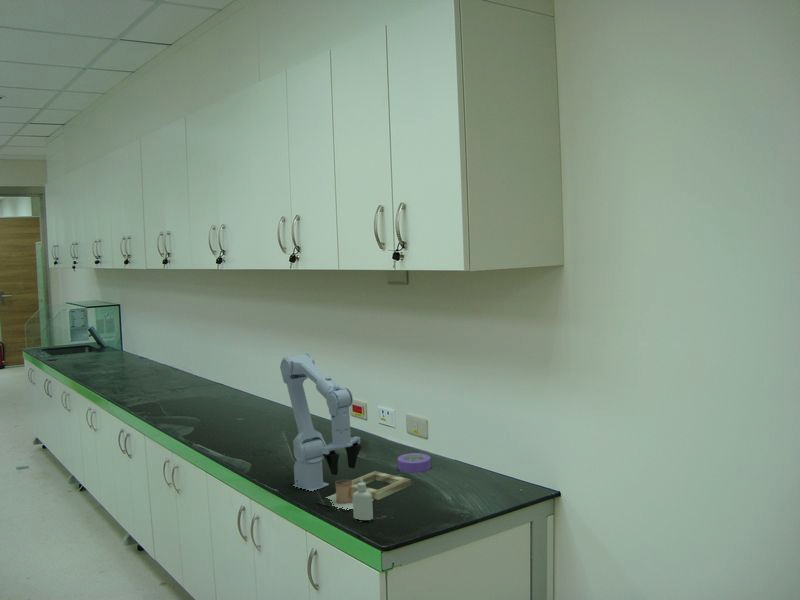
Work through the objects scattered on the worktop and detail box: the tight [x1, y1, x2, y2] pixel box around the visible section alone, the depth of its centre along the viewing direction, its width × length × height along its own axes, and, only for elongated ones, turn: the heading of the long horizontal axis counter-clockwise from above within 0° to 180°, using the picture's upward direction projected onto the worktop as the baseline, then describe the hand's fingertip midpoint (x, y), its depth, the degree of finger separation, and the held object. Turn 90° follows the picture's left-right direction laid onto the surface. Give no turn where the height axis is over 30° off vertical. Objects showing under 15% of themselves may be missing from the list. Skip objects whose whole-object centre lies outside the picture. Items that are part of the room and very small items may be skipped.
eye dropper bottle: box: [352, 479, 374, 521], centre depth 202 cm, size 4×6×12 cm
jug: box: [334, 478, 355, 504], centre depth 217 cm, size 5×7×6 cm
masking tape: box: [397, 452, 432, 474], centre depth 248 cm, size 12×12×4 cm
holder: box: [350, 470, 412, 501], centre depth 229 cm, size 16×16×2 cm
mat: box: [325, 493, 375, 510], centre depth 218 cm, size 14×12×1 cm
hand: (343, 471), depth 218 cm, fingers open, 7 cm apart
